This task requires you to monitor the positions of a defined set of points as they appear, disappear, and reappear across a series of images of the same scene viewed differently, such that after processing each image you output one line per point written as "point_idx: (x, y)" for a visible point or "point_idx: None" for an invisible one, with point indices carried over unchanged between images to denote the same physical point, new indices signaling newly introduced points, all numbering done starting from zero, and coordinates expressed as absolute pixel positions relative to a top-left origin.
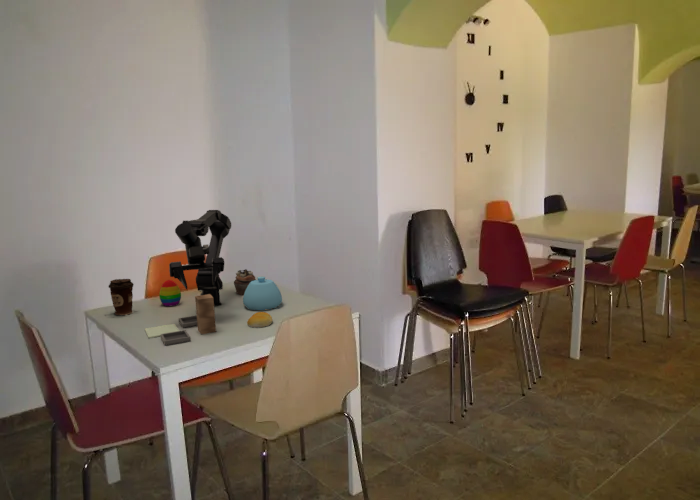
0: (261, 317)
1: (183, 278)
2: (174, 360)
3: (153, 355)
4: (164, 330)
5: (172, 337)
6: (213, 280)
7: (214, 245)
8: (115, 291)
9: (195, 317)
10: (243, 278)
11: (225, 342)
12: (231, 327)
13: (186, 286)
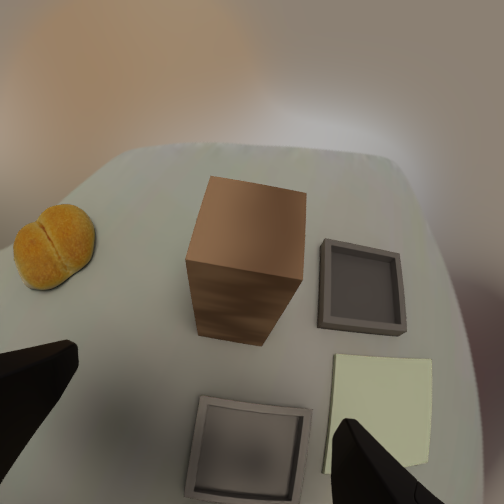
0: (58, 209)
1: (407, 488)
2: (372, 166)
3: (415, 219)
4: (380, 404)
5: (368, 308)
6: (44, 354)
7: None
8: None
9: (215, 493)
10: None
11: (233, 177)
12: (140, 285)
13: (354, 424)
